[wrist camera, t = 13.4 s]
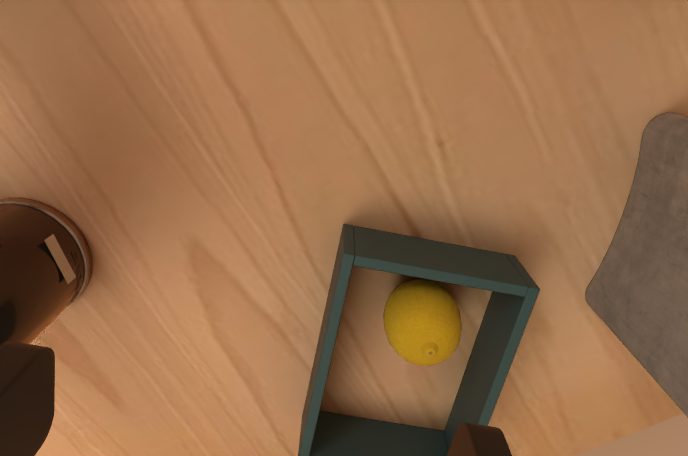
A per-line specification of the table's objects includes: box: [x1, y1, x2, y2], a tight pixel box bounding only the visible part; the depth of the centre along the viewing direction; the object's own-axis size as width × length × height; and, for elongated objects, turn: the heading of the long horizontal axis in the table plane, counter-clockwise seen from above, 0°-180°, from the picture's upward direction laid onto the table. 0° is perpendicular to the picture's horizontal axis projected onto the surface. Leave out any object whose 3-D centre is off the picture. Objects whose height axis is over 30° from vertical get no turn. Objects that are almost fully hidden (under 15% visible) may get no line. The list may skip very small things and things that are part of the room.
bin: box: [298, 224, 540, 456], centre depth 40 cm, size 19×14×6 cm
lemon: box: [384, 279, 462, 366], centre depth 37 cm, size 6×6×8 cm
